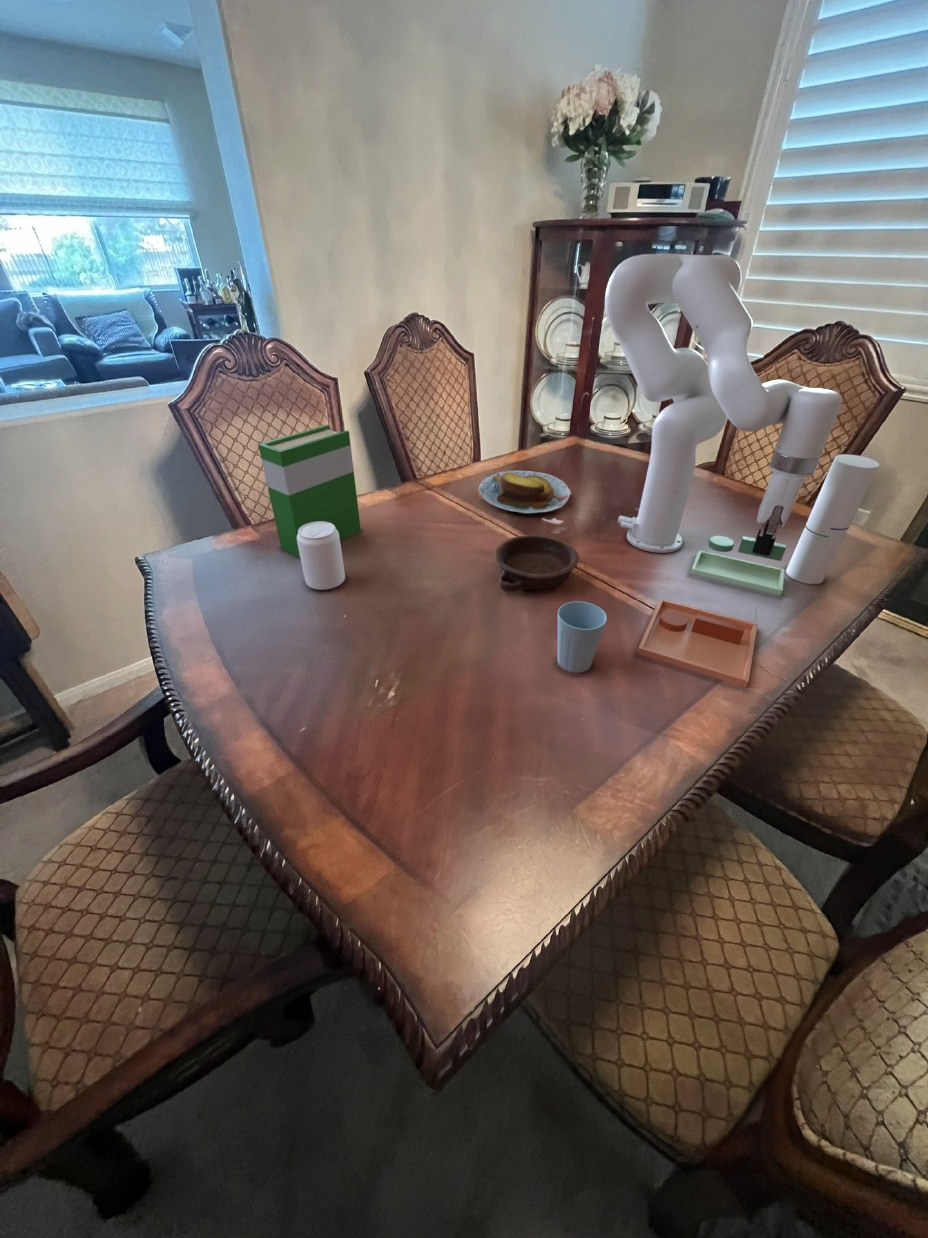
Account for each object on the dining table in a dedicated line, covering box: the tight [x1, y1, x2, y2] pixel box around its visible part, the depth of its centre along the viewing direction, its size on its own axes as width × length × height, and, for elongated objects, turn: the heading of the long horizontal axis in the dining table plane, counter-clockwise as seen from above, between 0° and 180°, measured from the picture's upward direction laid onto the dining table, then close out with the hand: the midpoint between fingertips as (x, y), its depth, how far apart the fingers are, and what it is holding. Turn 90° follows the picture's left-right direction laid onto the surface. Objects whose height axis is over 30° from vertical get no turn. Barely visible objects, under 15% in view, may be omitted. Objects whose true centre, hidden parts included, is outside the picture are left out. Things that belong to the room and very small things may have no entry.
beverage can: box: [297, 521, 346, 591], centre depth 106 cm, size 8×8×12 cm
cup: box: [556, 600, 608, 674], centre depth 86 cm, size 8×8×10 cm
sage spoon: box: [707, 535, 787, 562], centre depth 108 cm, size 14×5×3 cm, turn 62°
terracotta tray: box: [636, 597, 758, 688], centre depth 94 cm, size 17×17×2 cm
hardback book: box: [257, 424, 362, 560], centre depth 118 cm, size 18×7×24 cm, turn 141°
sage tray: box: [689, 549, 786, 597], centre depth 112 cm, size 17×9×2 cm, turn 62°
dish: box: [494, 534, 580, 592], centre depth 111 cm, size 18×22×5 cm
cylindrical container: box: [785, 453, 880, 585], centre depth 106 cm, size 7×7×25 cm
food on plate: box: [477, 469, 572, 514], centre depth 143 cm, size 25×25×7 cm
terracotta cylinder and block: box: [659, 610, 745, 645], centre depth 95 cm, size 14×5×3 cm, turn 61°
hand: (761, 550), depth 107 cm, fingers closed on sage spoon, 1 cm apart
